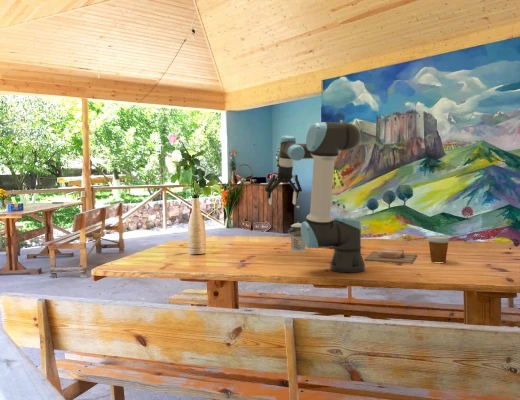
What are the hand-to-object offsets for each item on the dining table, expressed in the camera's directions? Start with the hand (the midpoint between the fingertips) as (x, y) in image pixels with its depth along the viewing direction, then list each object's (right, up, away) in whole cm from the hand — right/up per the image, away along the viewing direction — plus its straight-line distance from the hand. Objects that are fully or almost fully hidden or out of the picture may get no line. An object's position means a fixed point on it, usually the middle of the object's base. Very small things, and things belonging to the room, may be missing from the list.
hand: (282, 204), depth 241 cm
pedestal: (+53, -27, -18) cm, 62 cm away
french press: (+9, -26, +10) cm, 29 cm away
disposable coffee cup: (+72, -27, -29) cm, 83 cm away
